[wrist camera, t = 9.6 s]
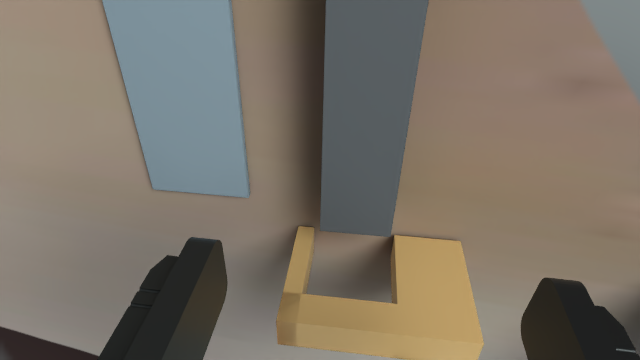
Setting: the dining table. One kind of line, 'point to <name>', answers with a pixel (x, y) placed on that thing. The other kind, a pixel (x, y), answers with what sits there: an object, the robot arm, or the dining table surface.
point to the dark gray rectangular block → (367, 109)
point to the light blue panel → (183, 92)
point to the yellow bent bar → (387, 306)
